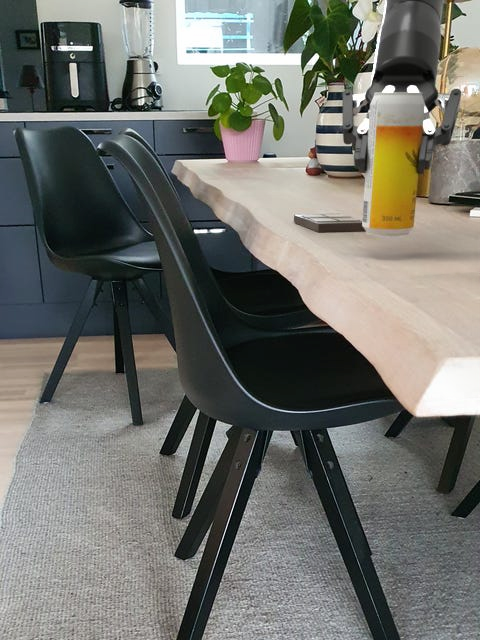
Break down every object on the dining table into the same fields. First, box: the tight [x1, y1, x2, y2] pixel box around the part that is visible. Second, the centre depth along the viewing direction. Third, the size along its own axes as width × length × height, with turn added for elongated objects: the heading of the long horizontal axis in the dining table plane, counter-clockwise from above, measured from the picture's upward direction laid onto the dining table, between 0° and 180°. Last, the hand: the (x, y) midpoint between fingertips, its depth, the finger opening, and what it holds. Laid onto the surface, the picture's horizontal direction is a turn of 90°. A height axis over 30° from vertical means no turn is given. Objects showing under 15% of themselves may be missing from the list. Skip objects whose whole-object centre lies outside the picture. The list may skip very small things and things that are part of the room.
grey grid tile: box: [293, 213, 366, 233], centre depth 120 cm, size 11×8×1 cm
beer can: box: [361, 92, 425, 237], centre depth 92 cm, size 6×6×15 cm
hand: (391, 168), depth 91 cm, fingers closed on beer can, 6 cm apart
